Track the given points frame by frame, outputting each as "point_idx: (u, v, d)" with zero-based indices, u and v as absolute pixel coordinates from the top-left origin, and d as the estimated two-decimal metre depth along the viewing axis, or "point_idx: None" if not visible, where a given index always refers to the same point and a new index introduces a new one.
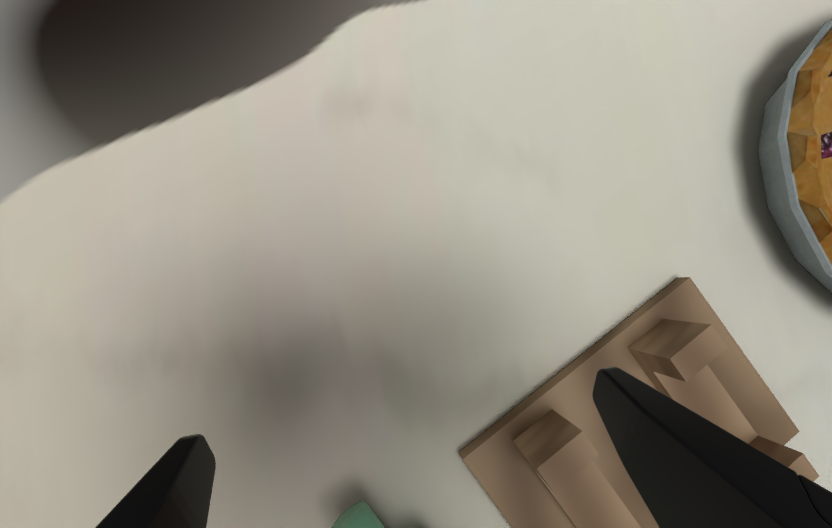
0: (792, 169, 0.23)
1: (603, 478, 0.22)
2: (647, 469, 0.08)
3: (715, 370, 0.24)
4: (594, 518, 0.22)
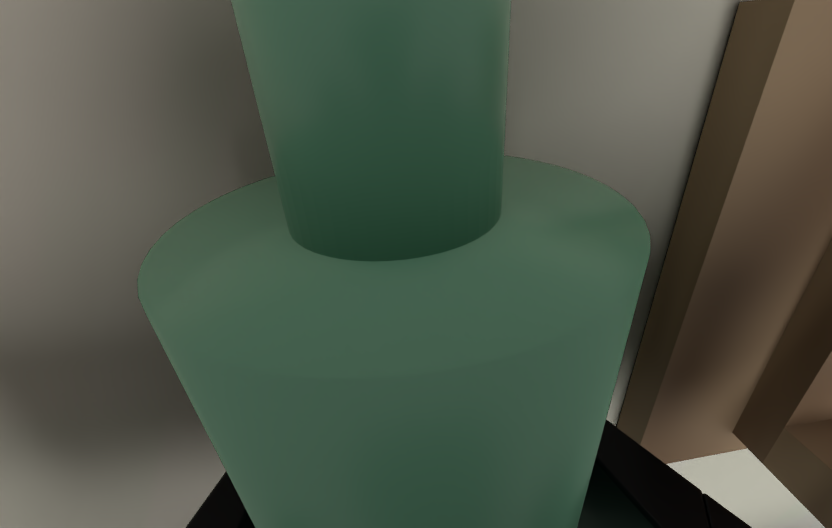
0: None
1: None
2: None
3: None
4: None
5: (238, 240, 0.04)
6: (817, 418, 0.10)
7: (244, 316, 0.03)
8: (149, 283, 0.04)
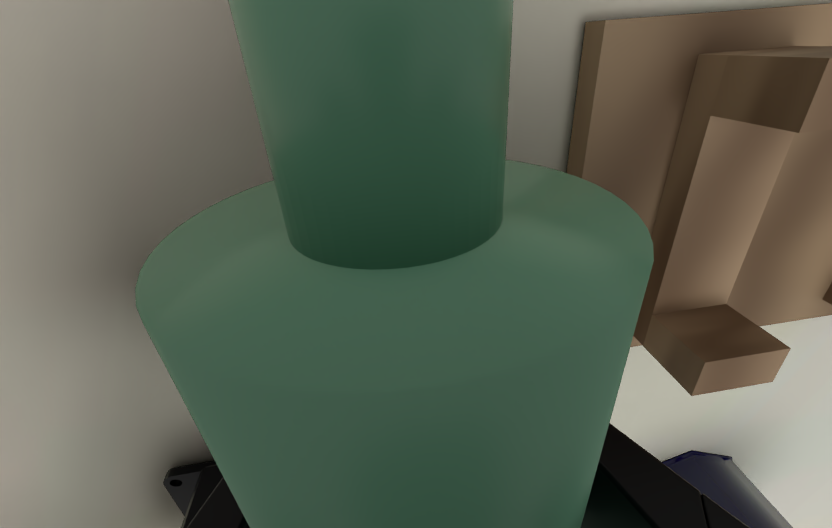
0: None
1: (765, 202, 0.13)
2: None
3: None
4: (701, 248, 0.13)
5: (238, 246, 0.04)
6: (675, 308, 0.14)
7: (240, 327, 0.03)
8: (147, 291, 0.04)
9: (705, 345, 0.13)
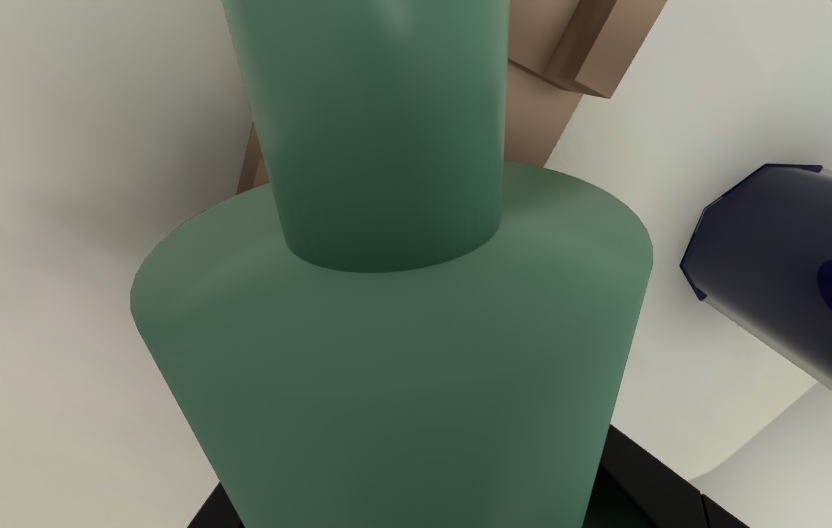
0: None
1: None
2: None
3: None
4: None
5: (234, 249, 0.04)
6: None
7: (237, 331, 0.03)
8: (142, 295, 0.04)
9: None
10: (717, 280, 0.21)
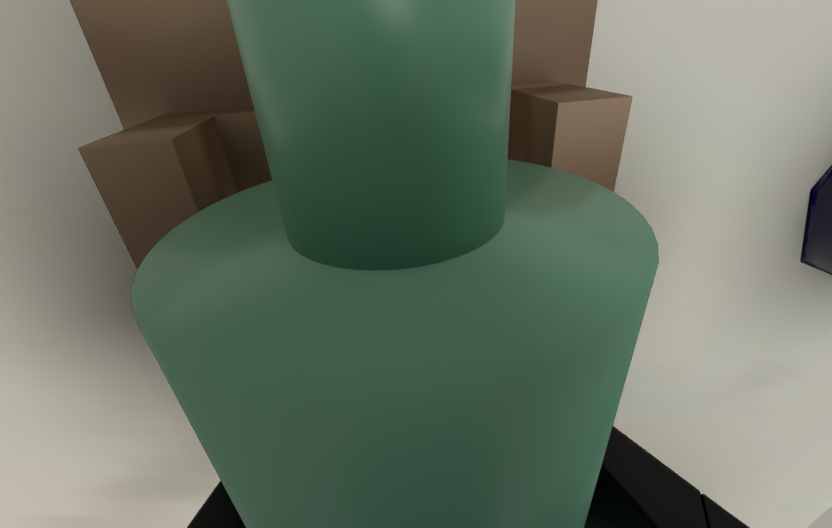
0: None
1: None
2: None
3: None
4: None
5: (236, 246, 0.04)
6: None
7: (240, 328, 0.03)
8: (143, 292, 0.04)
9: None
10: None
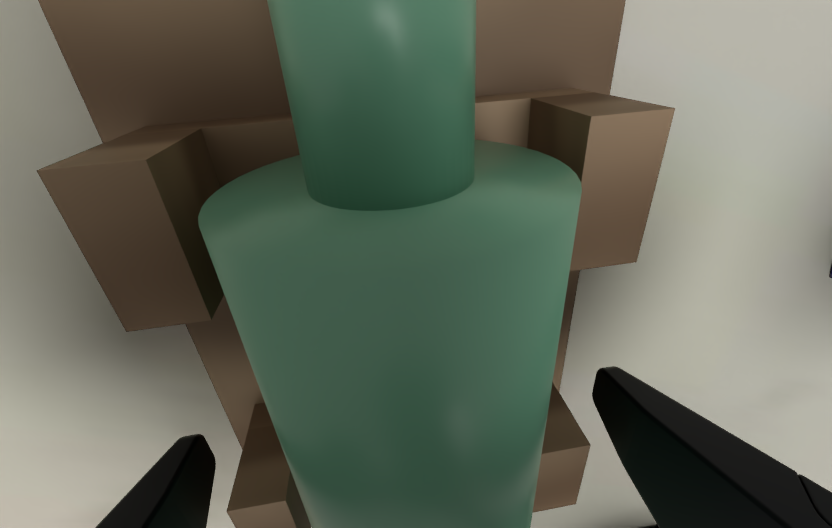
0: None
1: None
2: (647, 469, 0.08)
3: None
4: None
5: (270, 201, 0.06)
6: None
7: (285, 242, 0.04)
8: (208, 227, 0.05)
9: None
10: None
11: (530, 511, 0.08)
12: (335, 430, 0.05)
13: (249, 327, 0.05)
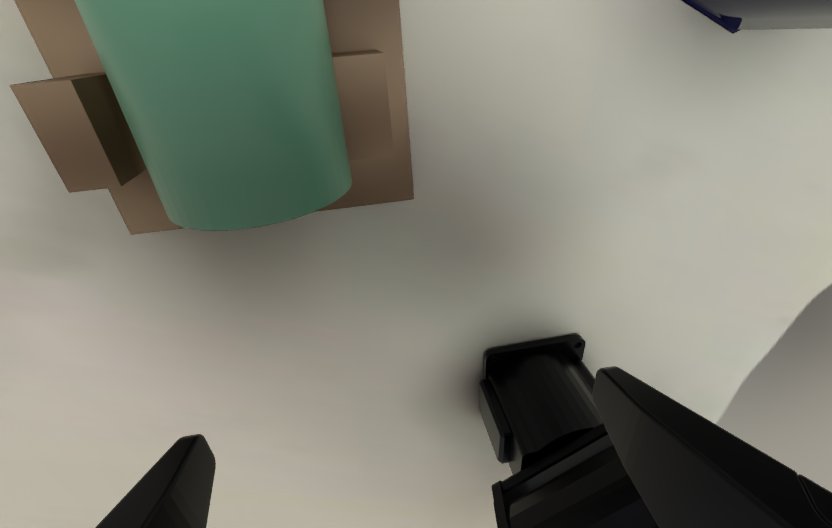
0: None
1: None
2: (647, 469, 0.08)
3: None
4: None
5: None
6: None
7: None
8: None
9: None
10: None
11: None
12: None
13: None
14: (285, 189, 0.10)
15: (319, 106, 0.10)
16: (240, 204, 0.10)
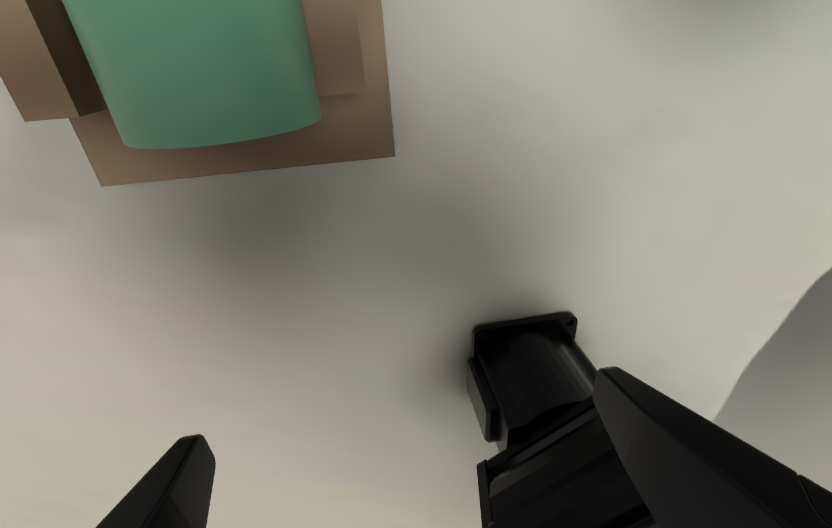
0: None
1: None
2: (647, 469, 0.08)
3: None
4: None
5: None
6: None
7: None
8: None
9: None
10: None
11: None
12: None
13: None
14: (240, 105, 0.10)
15: (279, 19, 0.10)
16: (191, 118, 0.09)
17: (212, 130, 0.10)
